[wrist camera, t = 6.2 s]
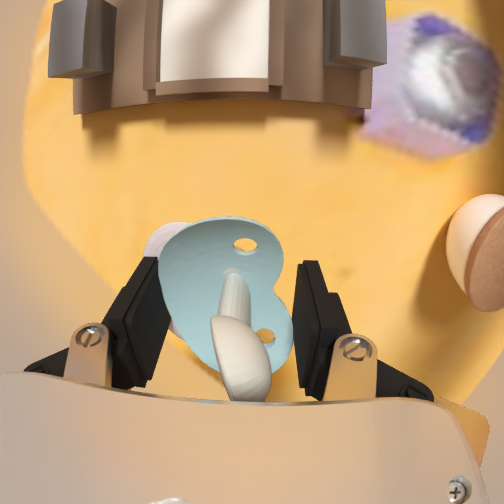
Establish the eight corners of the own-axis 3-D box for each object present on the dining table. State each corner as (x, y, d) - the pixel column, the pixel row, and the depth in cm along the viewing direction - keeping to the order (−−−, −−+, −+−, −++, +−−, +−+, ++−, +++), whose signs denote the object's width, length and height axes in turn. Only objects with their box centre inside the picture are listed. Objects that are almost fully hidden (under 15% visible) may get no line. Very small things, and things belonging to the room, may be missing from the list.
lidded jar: (446, 169, 23) (510, 201, 15) (509, 192, 24) (565, 225, 16) (416, 268, 28) (460, 324, 20) (480, 275, 29) (523, 321, 20)
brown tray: (364, -16, 16) (393, -44, 10) (364, 108, 22) (398, 111, 16) (87, -5, 16) (49, -23, 10) (82, 113, 21) (38, 120, 16)
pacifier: (178, 346, 15) (295, 337, 14) (147, 452, 9) (304, 455, 9) (125, 215, 12) (273, 187, 11) (34, 311, 6) (279, 290, 5)
